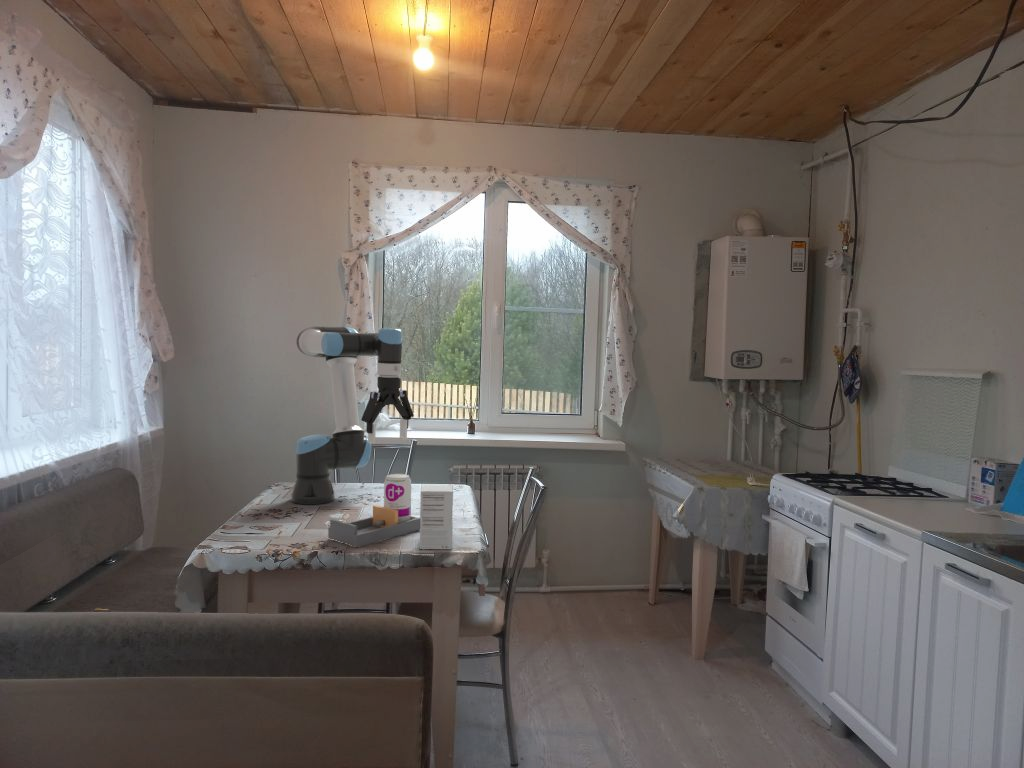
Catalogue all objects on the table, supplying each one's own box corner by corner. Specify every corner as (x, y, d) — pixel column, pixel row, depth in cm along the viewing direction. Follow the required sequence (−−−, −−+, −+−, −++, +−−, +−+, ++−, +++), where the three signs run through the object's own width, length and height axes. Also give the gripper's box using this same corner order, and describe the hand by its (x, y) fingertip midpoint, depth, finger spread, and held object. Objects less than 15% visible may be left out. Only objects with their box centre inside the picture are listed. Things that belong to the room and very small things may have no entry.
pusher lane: (328, 539, 199) (328, 519, 199) (394, 521, 220) (394, 503, 220) (356, 547, 192) (356, 526, 191) (421, 528, 212) (422, 510, 212)
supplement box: (420, 540, 201) (421, 483, 200) (452, 540, 202) (453, 483, 200) (419, 550, 191) (420, 490, 190) (452, 550, 192) (453, 490, 191)
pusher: (365, 526, 209) (365, 507, 208) (375, 524, 212) (375, 505, 212) (387, 533, 203) (387, 513, 202) (397, 530, 206) (398, 510, 206)
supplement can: (404, 528, 207) (404, 479, 206) (379, 525, 209) (379, 477, 208) (414, 521, 215) (415, 474, 214) (390, 519, 217) (391, 472, 216)
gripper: (366, 378, 209) (365, 447, 211) (425, 375, 228) (423, 438, 230) (350, 376, 213) (349, 443, 215) (409, 374, 233) (408, 435, 235)
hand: (387, 441), depth 223 cm, fingers open, 13 cm apart
